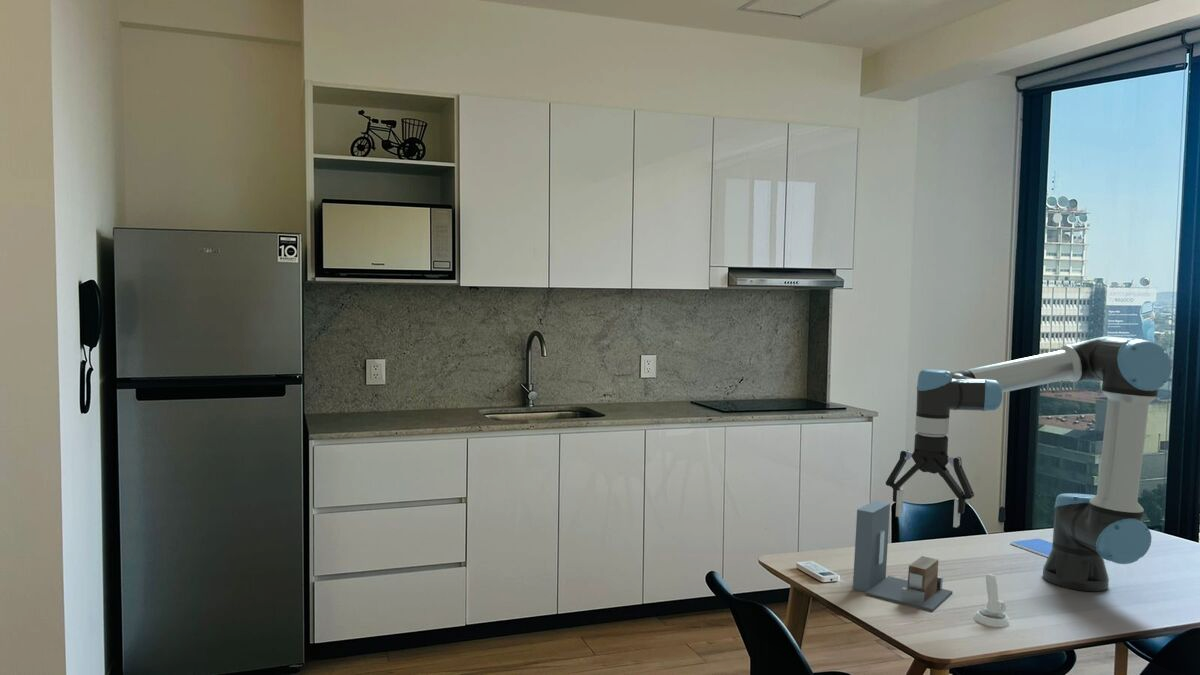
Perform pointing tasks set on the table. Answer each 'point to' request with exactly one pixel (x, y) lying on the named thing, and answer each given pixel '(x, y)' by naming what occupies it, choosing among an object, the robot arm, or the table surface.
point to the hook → (992, 606)
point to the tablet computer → (1035, 546)
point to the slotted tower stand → (884, 562)
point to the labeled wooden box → (923, 576)
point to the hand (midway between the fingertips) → (927, 520)
